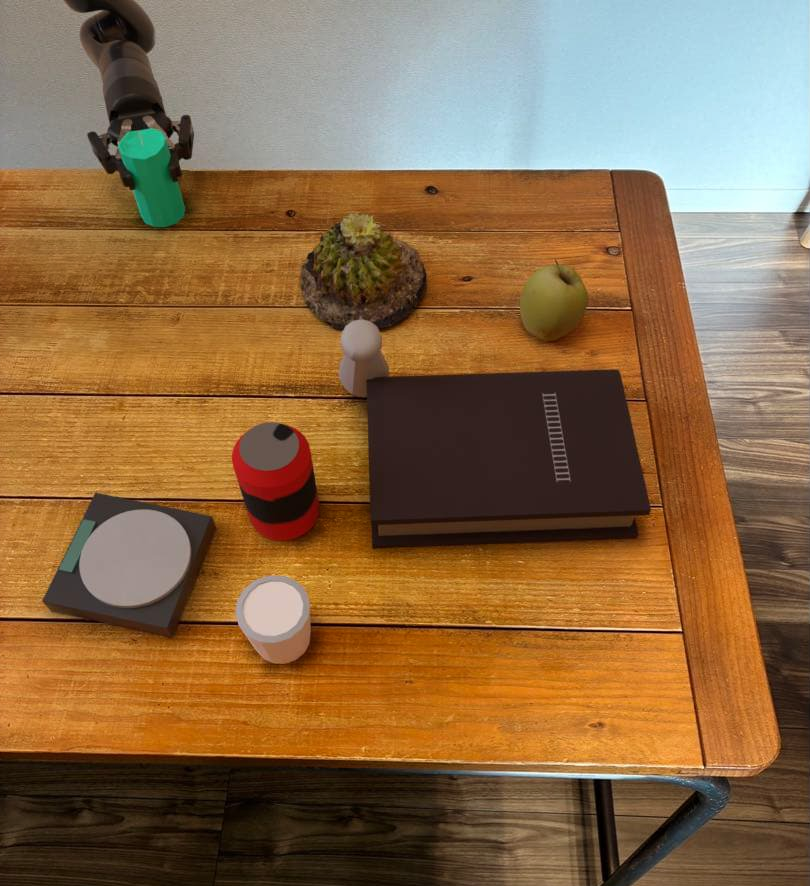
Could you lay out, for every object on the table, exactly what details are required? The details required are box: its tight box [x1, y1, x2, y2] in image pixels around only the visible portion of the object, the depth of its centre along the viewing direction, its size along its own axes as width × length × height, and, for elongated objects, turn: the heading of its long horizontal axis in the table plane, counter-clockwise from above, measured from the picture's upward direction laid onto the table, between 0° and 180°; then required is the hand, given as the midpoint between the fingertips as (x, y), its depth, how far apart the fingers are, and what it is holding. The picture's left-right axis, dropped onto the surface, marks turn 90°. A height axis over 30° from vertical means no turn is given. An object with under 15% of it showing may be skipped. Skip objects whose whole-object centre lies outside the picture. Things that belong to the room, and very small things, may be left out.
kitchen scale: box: [41, 492, 217, 639], centre depth 83 cm, size 13×13×3 cm
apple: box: [519, 259, 589, 342], centre depth 97 cm, size 8×8×10 cm
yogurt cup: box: [234, 574, 311, 665], centre depth 78 cm, size 7×7×7 cm
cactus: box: [299, 211, 428, 330], centre depth 101 cm, size 17×16×10 cm
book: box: [366, 368, 652, 550], centre depth 89 cm, size 28×20×6 cm
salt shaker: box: [338, 319, 390, 399], centre depth 90 cm, size 6×6×13 cm
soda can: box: [231, 421, 320, 541], centre depth 83 cm, size 8×8×12 cm
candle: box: [117, 128, 186, 228], centre depth 106 cm, size 6×6×12 cm
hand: (152, 179), depth 104 cm, fingers closed on candle, 5 cm apart
